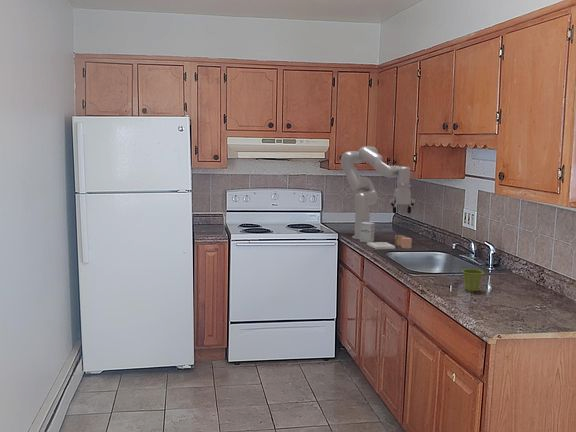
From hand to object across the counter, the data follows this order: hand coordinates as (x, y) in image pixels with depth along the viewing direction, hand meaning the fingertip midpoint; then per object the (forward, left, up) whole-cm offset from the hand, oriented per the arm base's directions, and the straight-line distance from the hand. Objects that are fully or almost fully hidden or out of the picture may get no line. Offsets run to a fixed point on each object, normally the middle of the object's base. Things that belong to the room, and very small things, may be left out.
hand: (401, 213), depth 388 cm
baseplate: (+5, -15, -20) cm, 26 cm away
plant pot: (+113, -15, -20) cm, 116 cm away
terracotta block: (+9, 0, -20) cm, 22 cm away
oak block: (0, 0, -20) cm, 20 cm away
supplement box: (-13, -18, -20) cm, 30 cm away
